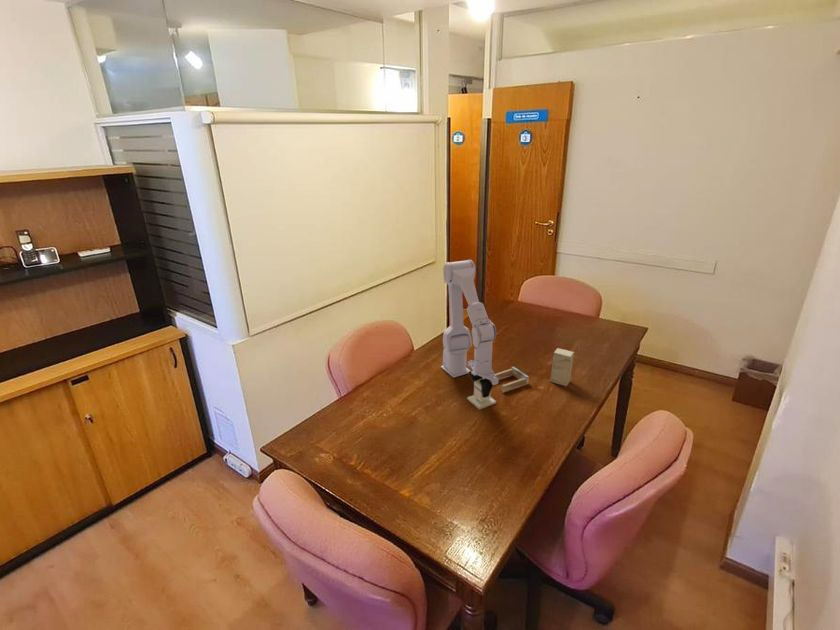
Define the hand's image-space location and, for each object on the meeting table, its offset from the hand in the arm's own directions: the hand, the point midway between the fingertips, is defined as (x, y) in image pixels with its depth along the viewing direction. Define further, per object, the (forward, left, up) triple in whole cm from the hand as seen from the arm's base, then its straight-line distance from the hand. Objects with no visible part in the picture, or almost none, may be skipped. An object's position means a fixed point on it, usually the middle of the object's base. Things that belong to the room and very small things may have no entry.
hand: (481, 393), depth 150 cm
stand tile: (0, 0, -3) cm, 3 cm away
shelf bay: (-5, +15, -3) cm, 16 cm away
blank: (0, 0, -2) cm, 2 cm away
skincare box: (+4, +32, -3) cm, 33 cm away
